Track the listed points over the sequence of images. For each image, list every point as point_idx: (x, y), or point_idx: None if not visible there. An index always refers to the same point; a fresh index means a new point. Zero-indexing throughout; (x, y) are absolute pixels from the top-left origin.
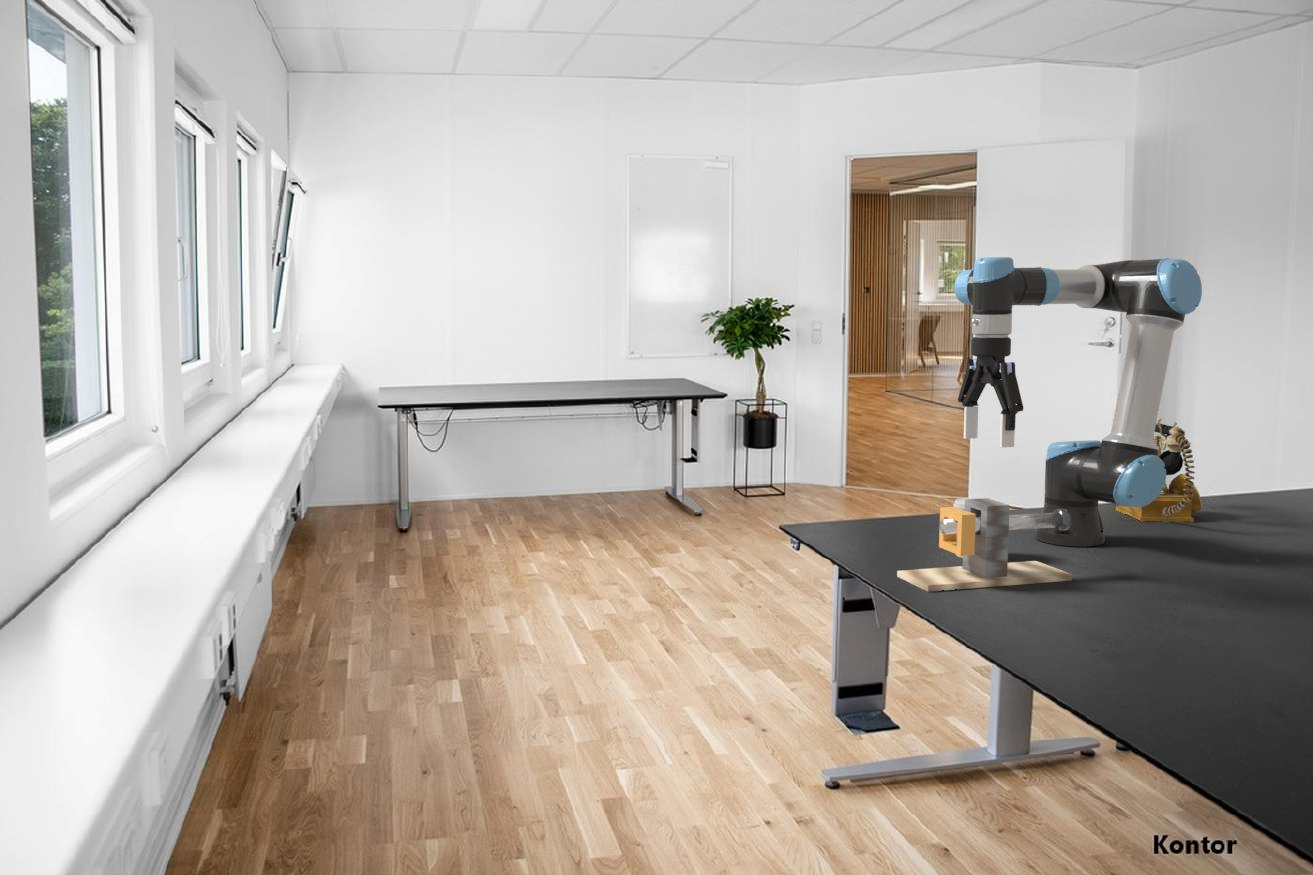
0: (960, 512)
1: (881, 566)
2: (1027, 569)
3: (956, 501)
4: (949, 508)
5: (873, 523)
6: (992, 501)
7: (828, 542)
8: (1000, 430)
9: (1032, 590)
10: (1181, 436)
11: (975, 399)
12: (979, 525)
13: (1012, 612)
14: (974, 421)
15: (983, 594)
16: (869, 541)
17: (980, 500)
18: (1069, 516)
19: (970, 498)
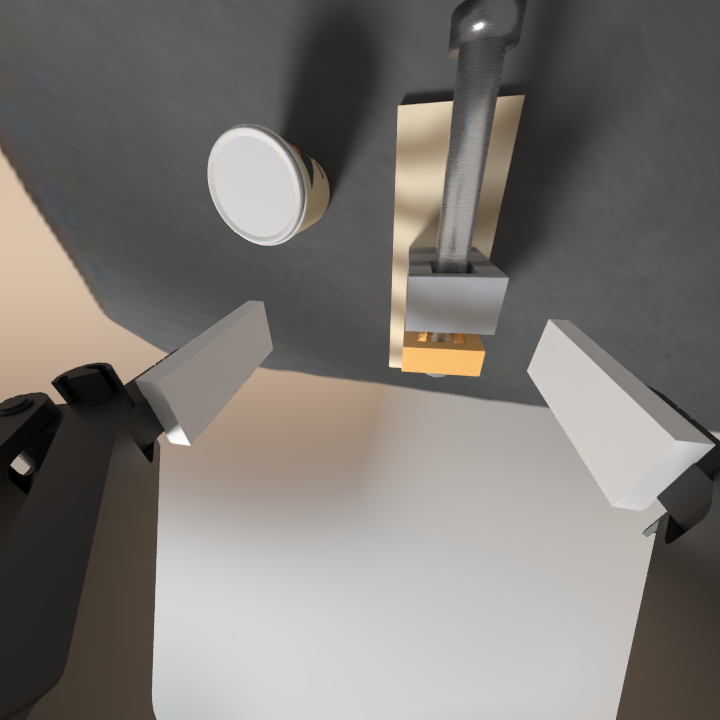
0: (456, 365)
1: (339, 354)
2: None
3: (255, 241)
4: (415, 362)
5: (78, 234)
6: (450, 289)
7: None
8: (560, 420)
9: (530, 232)
10: None
11: (131, 448)
12: None
13: (597, 331)
14: (225, 351)
15: (507, 315)
16: (205, 301)
17: (428, 308)
18: (523, 7)
19: (212, 178)
